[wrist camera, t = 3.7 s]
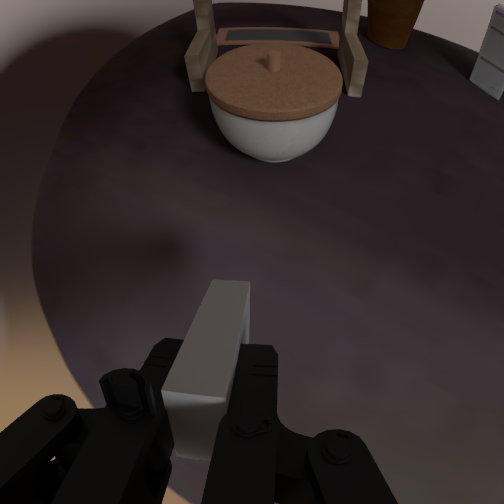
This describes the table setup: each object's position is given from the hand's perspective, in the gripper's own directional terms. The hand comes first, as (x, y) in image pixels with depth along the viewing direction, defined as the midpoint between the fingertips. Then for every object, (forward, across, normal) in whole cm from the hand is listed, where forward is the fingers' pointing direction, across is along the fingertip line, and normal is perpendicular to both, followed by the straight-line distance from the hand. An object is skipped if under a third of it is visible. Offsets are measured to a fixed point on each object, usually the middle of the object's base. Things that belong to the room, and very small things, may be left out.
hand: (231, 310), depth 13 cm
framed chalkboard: (+35, +2, +24) cm, 43 cm away
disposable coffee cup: (+38, +18, +26) cm, 49 cm away
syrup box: (+33, +34, +20) cm, 52 cm away
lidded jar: (+19, +1, +7) cm, 21 cm away
